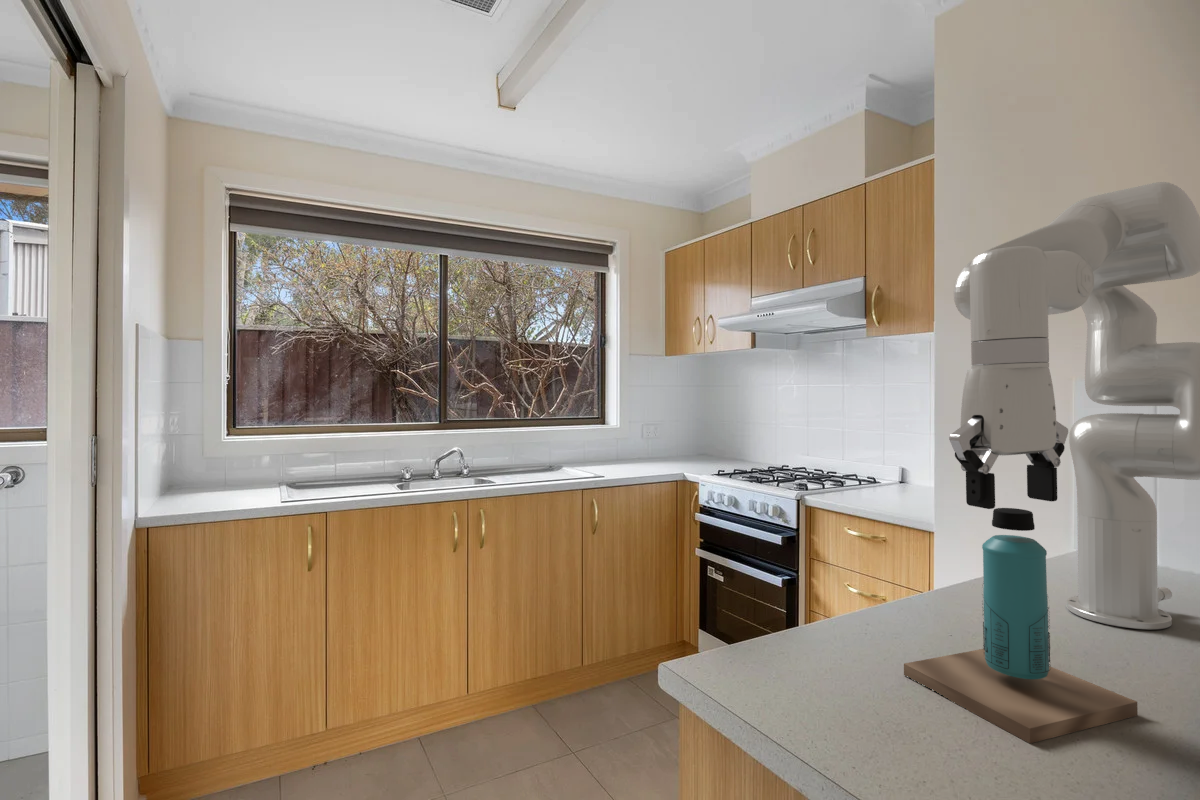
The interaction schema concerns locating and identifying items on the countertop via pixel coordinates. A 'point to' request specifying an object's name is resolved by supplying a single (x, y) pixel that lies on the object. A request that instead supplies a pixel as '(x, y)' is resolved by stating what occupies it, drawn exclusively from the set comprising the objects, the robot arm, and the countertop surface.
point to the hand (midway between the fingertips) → (1012, 503)
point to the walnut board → (1021, 696)
